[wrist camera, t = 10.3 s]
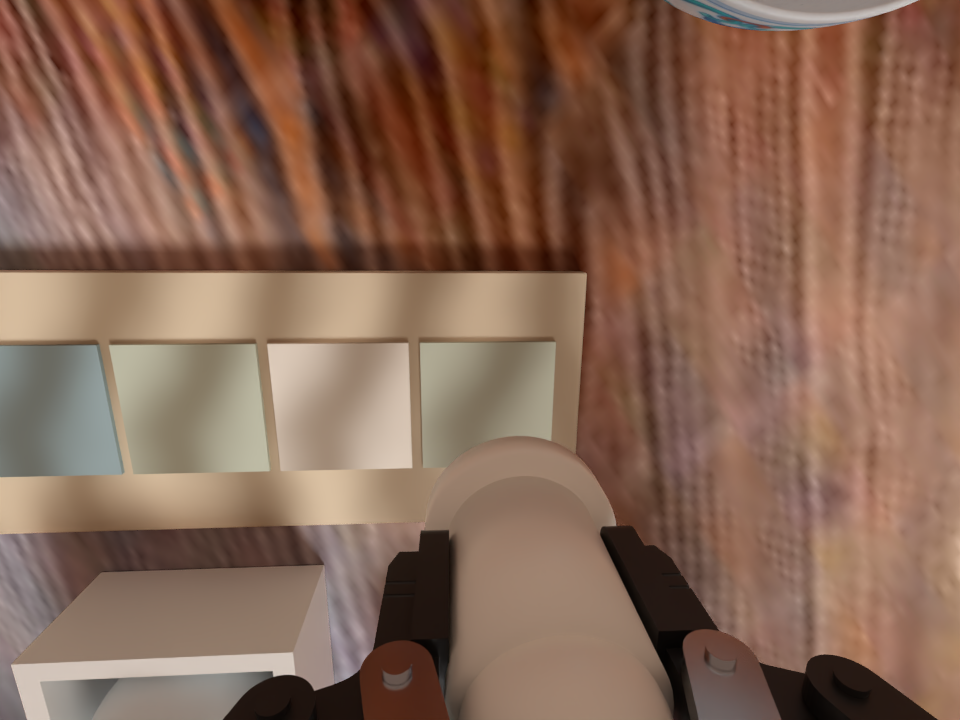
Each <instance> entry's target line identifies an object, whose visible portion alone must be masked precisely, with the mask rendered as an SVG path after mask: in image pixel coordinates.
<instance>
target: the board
mask: <svg viewBox="0 0 960 720" xmlns="http://www.w3.org/2000/svg"><path fill="white" fill-rule="evenodd" d="M586 280H587V273H585V272H582V271H233V270H0V534H18V533H53V532H88V531H124V530H159V529H194V528H229V527H264V526H299V525H334V524H369V523H405V522H425V520H426V509H427V505H428V500H429V497H430V494H431V492H432V489H433V487H434V485H435V483H436V481H437V480H438V478H439V477H440V475H441V474H442V473H443V471H444V470H445V469H446V468H447V467H448V466H449V465H450V464H451V463H452V462H453V461H454V460H455V459H456V458H458V457H459V456H460V455H461V454H463V453H464V452H466V451H468V450H469V449H471V448H473V447H475V446H477V445H479V444H481V443H484V442H487V441H490V440H493V439H497V438H502V437H509V436H531V437H537V438H542V439H546V440H549V441H552V442H555V443H557V444H559V445H561V446H563V447H565V448H567V449H568V450H570V451H572V452H573V453H574V454H576V438H577V423H578V407H579V391H580V375H581V359H582V343H583V328H584V312H585V296H586Z"/></svg>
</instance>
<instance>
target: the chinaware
mask: <svg viewBox="0 0 960 720" xmlns="http://www.w3.org/2000/svg"><path fill="white" fill-rule="evenodd" d="M664 1H666V2H667V3H669V4H671V5H672V6H674V7H676V8H678V9H680V10H682V11H684V12H686V13H688V14H690V15H693V16H695V17H698V18H700V19H703V20H706V21H709V22H712V23H716V24H720V25H724V26H729V27H734V28H741V29H748V30H760V31H790V30H803V29H813V28H820V27H827V26H833V25H838V24H843V23H848V22H853V21H857V20H861V19H865V18H869V17H873V16H877V15H880V14H883V13H886V12H890V11H893V10H895V9H898V8H901V7H903V6H906V5H909V4H911V3H913V2H916V1H918V0H664Z"/></svg>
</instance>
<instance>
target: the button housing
mask: <svg viewBox="0 0 960 720" xmlns="http://www.w3.org/2000/svg"><path fill="white" fill-rule="evenodd" d="M11 667H12V670H13V674H14V677H15V680H16V684H17V687H18V691H19V694H20V697H21V701H22V704H23V707H24V711H25V714H26V718H27V720H92V718H93V716H94V714H95V712H96V710H97V709H98V707H99V706H100V704H101V702H102V701H103V699H104V698H105V696H106V694H107V693H108V692H109V691H110V689H111V688H112V687H113V686H114V684H115V683H116V682H117V681H118V680H119V679H120V678H129V677H151V676H173V675H195V674H217V673H239V672H261V671H273V677H275V676H280V675H295V676H299V677H302V678H304V679H305V680H307V681H308V682H309V683H310V684H311V685H312V687H313V689H314V691H315V690H318V689H321V688H324V687H327V686H331V685H334V673H333V661H332V650H331V638H330V627H329V615H328V603H327V592H326V580H325V569H324V565H306V566H276V567H246V568H216V569H186V570H156V571H126V572H101V573H100V574H99V575H98V576H97V577H96V578H95V579H94V580H93V581H92V582H91V583H90V584H89V585H88V586H87V587H86V588H85V589H84V590H83V591H82V592H81V594H80V595H79V596H78V597H77V598H76V599H75V600H74V601H73V602H72V603H71V604H70V605H69V606H68V607H67V608H66V609H65V610H64V611H63V612H62V613H61V614H60V615H59V616H58V617H57V618H56V619H55V620H54V621H53V622H52V623H51V624H50V625H49V626H48V627H47V628H46V629H45V630H44V631H43V632H42V633H41V634H40V635H39V636H38V637H37V638H36V639H35V640H34V642H33V643H32V644H31V645H30V646H29V647H28V648H27V649H26V650H25V651H24V652H23V653H22V654H21V655H20V656H19V657H18V658H17V659H16V660H15V661H14V662H13V663H12V664H11Z"/></svg>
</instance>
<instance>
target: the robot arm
mask: <svg viewBox="0 0 960 720" xmlns="http://www.w3.org/2000/svg"><path fill="white" fill-rule="evenodd" d="M600 536H601V538H602V540H603V542H604V544H605V547H606V549H607V551H608V553H609V555H610V557H611V559H612V561H613V563H614V565H615V567H616V569H617V571H618V574H619V576H620V578H621V580H622V582H623V584H624V586H625V588H626V590H627V592H628V594H629V596H630V598H631V601H632V603H633V605H634V607H635V609H636V611H637V613H638V615H639V617H640V619H641V621H642V623H643V625H644V627H645V630H646V632H647V634H648V636H649V638H650V640H651V642H652V644H653V646H654V648H655V650H656V652H657V654H658V657H659V659H660V661H661V663H662V665H663V667H664V669H665V671H666V673H667V675H668V677H669V680H670V683H671V687H672V690H673V698H674V710H673V719H674V720H937V719H936V718H935V717H933V716H932V715H931V714H929V713H928V712H927V711H925V710H924V709H922V708H921V707H920V706H918V705H917V704H916V703H914V702H913V701H912V700H910V699H909V698H908V697H906V696H905V695H903V694H902V693H901V692H899V691H898V690H897V689H895V688H894V687H893V686H891V685H890V684H889V683H887V682H886V681H884V680H883V679H882V678H880V677H879V676H878V675H876V674H875V673H873V672H872V671H871V670H869V669H868V668H866V667H864V666H862V665H860V664H858V663H856V662H854V661H852V660H849V659H846V658H843V657H840V656H835V655H818V656H815V657H813V658H811V659H810V660H809V661H808V663H807V666H806V671H805V674H804V673H800V672H795V671H791V670H786V669H782V668H777V667H773V666H769V665H765V664H762V663H760V662H759V661H758V659H757V657H756V656H755V655H754V653H753V652H752V651H751V650H750V649H749V648H748V647H747V646H746V645H745V644H744V643H742V642H741V641H739V640H738V639H736V638H734V637H733V636H731V635H728V634H726V633H723V632H720V631H719V630H718V629H717V627H716V625H715V624H714V622H713V621H712V619H711V618H710V616H709V615H708V613H707V612H706V610H705V609H704V607H703V606H702V604H701V603H700V601H699V600H698V598H697V597H696V595H695V594H694V592H693V591H692V589H691V588H689V585H688V583H687V582H686V580H685V579H684V577H683V576H681V573H680V571H679V570H678V568H677V567H676V565H675V563H674V562H673V560H672V559H671V558H670V557H669V556H668V555H666V554H665V553H664V552H662V551H661V550H660V549H658V548H657V547H656V546H655V545H649V546H644V544H643V543H642V541H641V539H640V538H639V536H638V534H637V533H636V531H635V529H634V528H633V527H632V526H603V527H602V528H601V530H600ZM448 663H449V530H425V531H421V534H420V544H419V551H417V552H399V553H398V555H397V556H396V557H395V558H394V560H393V561H392V562H391V563H390V565H389V566H388V572H387V577H386V585H385V588H384V594H383V599H382V605H381V610H380V616H379V621H378V627H377V632H376V638H375V643H374V648H373V651H372V652H371V653H370V654H369V655H368V656H367V657H366V659H365V660H364V662H363V664H362V666H361V669H360V670H359V671H358V672H357V673H356V674H354V675H353V676H351V677H350V678H348V679H346V680H344V681H342V682H339V683H337V684H334V685H331V686H327V687H324V688H321V689H318V690H315V691H314V689H313V687H312V685H311V684H310V683H309V682H308V681H307V680H305V679H304V678H302V677H299V676H295V675H280V676H275V677H271V678H269V679H266V680H264V681H262V682H260V683H258V684H256V685H255V686H254V687H252V688H251V689H249V690H248V691H247V692H246V693H245V694H244V695H243V696H242V697H241V698H240V699H239V701H238V702H237V703H236V704H235V705H234V707H233V708H232V709H231V710H230V711H229V713H228V714H227V715H226V716H225V717H224V719H223V720H450V719H449V715H448V712H447V708H446V704H445V701H444V686H445V675H446V670H447V666H448Z"/></svg>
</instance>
